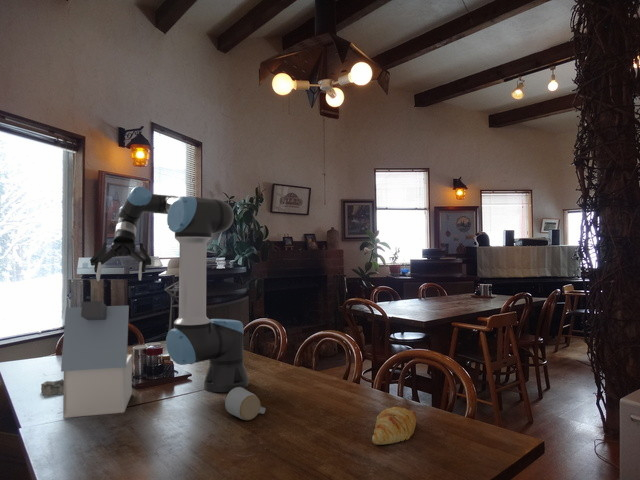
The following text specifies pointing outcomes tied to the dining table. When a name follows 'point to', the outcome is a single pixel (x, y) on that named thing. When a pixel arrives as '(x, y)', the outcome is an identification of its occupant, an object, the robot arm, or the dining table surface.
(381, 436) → the croissant
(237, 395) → the ceramic mug
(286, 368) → the dining table surface
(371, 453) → the dining table surface
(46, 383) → the grey piece
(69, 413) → the storage box
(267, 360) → the dining table surface
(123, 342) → the lid
